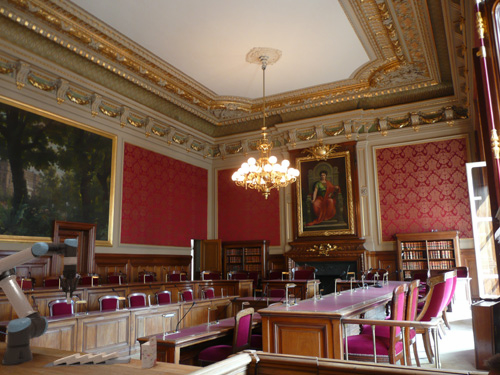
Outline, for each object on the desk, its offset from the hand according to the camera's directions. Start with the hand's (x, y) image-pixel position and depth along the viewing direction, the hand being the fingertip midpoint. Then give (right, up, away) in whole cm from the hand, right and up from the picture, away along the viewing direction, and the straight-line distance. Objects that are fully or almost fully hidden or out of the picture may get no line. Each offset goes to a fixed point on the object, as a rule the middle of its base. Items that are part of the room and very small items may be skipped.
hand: (68, 303), depth 255 cm
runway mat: (+18, -26, -26) cm, 41 cm away
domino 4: (+26, -24, -25) cm, 44 cm away
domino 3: (+18, -25, -25) cm, 40 cm away
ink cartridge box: (+57, -24, -34) cm, 71 cm away
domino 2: (+11, -25, -25) cm, 37 cm away
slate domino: (+32, -24, -25) cm, 47 cm away
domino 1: (+4, -25, -25) cm, 36 cm away
